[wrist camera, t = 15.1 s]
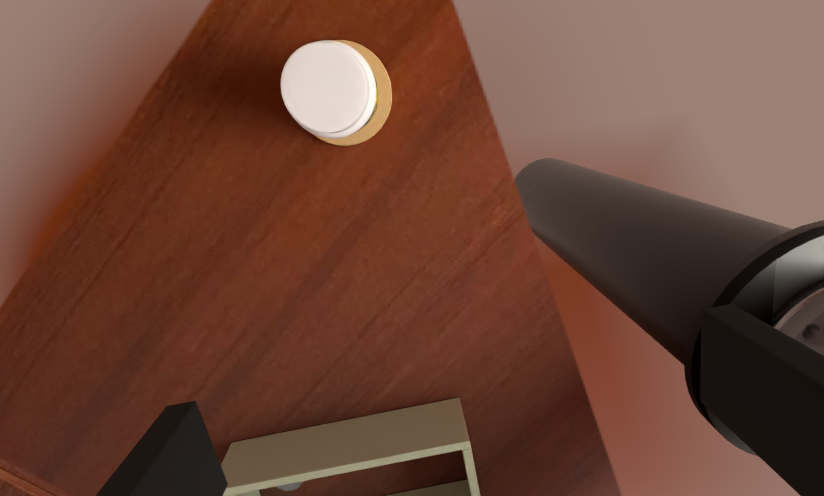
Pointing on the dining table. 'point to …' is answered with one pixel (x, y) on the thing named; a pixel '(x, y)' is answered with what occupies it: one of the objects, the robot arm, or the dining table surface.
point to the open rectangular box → (353, 450)
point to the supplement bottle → (329, 89)
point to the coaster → (383, 99)
